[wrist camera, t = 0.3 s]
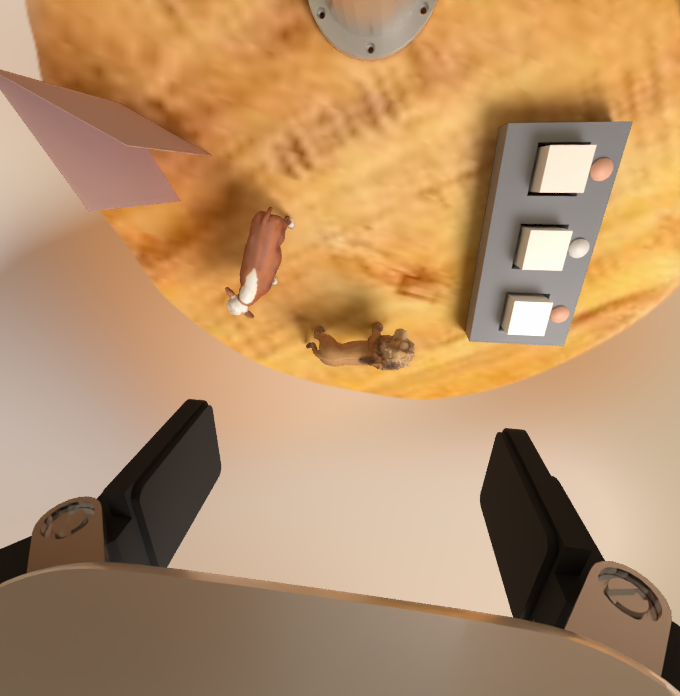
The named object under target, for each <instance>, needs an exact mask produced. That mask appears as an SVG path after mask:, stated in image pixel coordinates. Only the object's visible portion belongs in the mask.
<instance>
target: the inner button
mask: <svg viewBox="0 0 680 696" xmlns="http://www.w3.org/2000/svg"><path fill="white" fill-rule="evenodd" d="M596 146H597V145H549V146H543V147H538V148H537V151H536V156H535V161H534V166H533V170H532V175H531V180H530V184H529V189H528V191H529V192H539V193H584V189H585V186H586V182H587V179H588V175H589V171H590V168H591V164H592V160H593V157H594V153H595V150H596Z"/></svg>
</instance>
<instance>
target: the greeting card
mask: <svg viewBox="0 0 680 696" xmlns="http://www.w3.org/2000/svg"><path fill="white" fill-rule="evenodd" d="M0 90H1V91H2V92H3V94H4V95H5V97H6V98H7V99H8V101H9V102H10V104H11V105H12V106H13V108H14V109H15V110H16V112H17V113H18V115H19V116H20V117H21V119H22V120H23V121H24V123H25V124H26V125H27V127H28V128H29V130H30V131H31V132H32V134H33V135H34V136H35V138H36V139H37V141H38V142H39V143H40V145H41V146H42V147H43V149H44V150H45V152H46V153H47V154H48V156H49V157H50V159H51V160H52V161H53V163H54V164H55V165H56V167H57V168H58V169H59V171H60V172H61V174H62V175H63V176H64V178H65V179H66V180H67V182H68V183H69V185H70V186H71V187H72V189H73V190H74V191H75V193H76V194H77V196H78V197H79V198H80V200H81V201H82V202H83V204H84V205H85V206H86V208H87V209H88V211H97V210H106V209H114V208H123V207H132V206H141V205H150V204H159V203H167V202H176V201H181V200H180V199H179V197H178V196H177V194H176V192H175V191H174V189H173V188H172V186H171V185H170V183H169V181H168V180H167V178H166V177H165V175H164V173H163V172H162V170H161V169H160V167H159V165H158V164H157V162H156V161H155V159H154V158H153V156H152V154H151V153H150V151H149V150H148V149H156V150H164V151H173V152H181V153H189V154H197V155H205V156H211V155H210V154H208V153H206V152H204V151H203V150H201V149H199V148H197V147H196V146H194V145H192V144H190V143H189V142H187V141H185V140H183V139H181V138H180V137H178V136H176V135H174V134H173V133H171V132H169V131H167V130H166V129H164V128H162V127H160V126H159V125H157V124H155V123H153V122H152V121H150V120H148V119H146V118H145V117H143V116H141V115H139V114H138V113H136V112H134V111H132V110H131V109H129V108H127V107H125V106H124V105H122V104H120V103H118V102H114V101H111V100H107V99H103V98H100V97H96V96H93V95H89V94H86V93H82V92H78V91H75V90H71V89H68V88H64V87H60V86H57V85H53V84H50V83H46V82H43V81H39V80H35V79H32V78H28V77H25V76H21V75H17V74H14V73H10V72H7V71H3V70H0Z"/></svg>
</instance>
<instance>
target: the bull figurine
mask: <svg viewBox="0 0 680 696" xmlns="http://www.w3.org/2000/svg"><path fill="white" fill-rule="evenodd" d="M271 211H272V208H271V207H270V208H269V209H268V210H267V211H266V212H265V211H260V212H258V213H257V214H256V215H255V217H254V218H253V220H252V223H251V227H250V234H249V237H248V240H247V243H246V245H245V250H244V256H243V262H242V267H241V270H240V283H241V288H240V290H239V294H238V295H235V294H234V292H233V291H232V290H231V289H230V288H228V287H226V288H225V290H226V293H227V295H229V296H230V298H231V299H230V300H228V302H227V309H228V311H229V312H230V313H231V314H234V315H240V314H241V313H242V312H243V313H244V315H245V316H247V317H249V318H254V315H253V314H252V313H251V312H250V311H249V310H248V307H249V306H250V305H252V304H254V303H255V302H256V301H257V300H258V299H259V298H260V297H261V296H263V295H264V294H266V293H267V292H268V291H269V290H270V288H271V286H272V285H274V286H276V285H277V284H278V280H277V278H276V277H275V275H276V272H277V270H278V268H279V266H280V263H281V259H282V254H281V248H280V245H281V244H282V243H283V241H284V239H285V230H286V229H287V227H288V228H290V229H293V228H294V226H295V224H294V222H293V219H292V218H289V216H286V217H285V219H284V220H283V218H282V217H280V216H278V215H272V214H271Z"/></svg>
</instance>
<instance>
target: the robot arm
mask: <svg viewBox="0 0 680 696" xmlns="http://www.w3.org/2000/svg"><path fill="white" fill-rule="evenodd" d="M308 2H309V6H310V10H311V12H312V15H313V17H314V19H315V21H316V24H317V25H318V27H319V29H320V31H321V33H322V34H323V35H324V37H325V38H326V39H327V41H328V42H329V43H330V44H331V45H332V46H333V47H335V48H336V49H337V50H338V51H339V52H341V53H343V54H344V55H346V56H348V57H350V58H353V59H357V60H361V61H377V60H381V59H386V58H388V57H390V56H393V55H395V54H397V53H399V52H400V51H401V50H403V49H404V48H406V47H407V46H408V45H409V44H410V43H411V42H412V41H413V40H414V39H415V38H416V37H417V36H418V35H419V34H420V32H421V31H422V29H423V28H424V27H425V25H426V24H427V22H428V20H429V18H430V16H431V14H432V12H433V10H434V8H435V6H436V3H437V0H308ZM422 9H425V10H426V13H425V14H421V10H422ZM321 14H325V17H324V18H323V19H321V18H320V16H321ZM370 48H373V50H374V51H373V53H369V52H368V51H369V49H370ZM220 472H221V461H220V454H219V448H218V442H217V435H216V428H215V422H214V415H213V409H212V407H211V406H210V405H208V403H207V402H206V401H204V400H193V399H188V400H187V401H185V403H184V404H183V405H182V406H181V407H180V408H179V409H178V410H177V411H176V412H175V413H174V415H173V416H172V417H171V418H170V419H169V420H168V421H167V422H166V423H165V424H164V425H163V426H162V427H161V429H160V430H159V431H158V432H157V433H156V434H155V435H154V436H153V437H152V438H151V439H150V441H149V442H148V443H147V444H146V445H145V446H144V447H143V448H142V449H141V450H140V451H139V452H138V454H137V455H136V456H135V457H134V458H133V459H132V460H131V461H130V462H129V463H128V464H127V465H126V466H125V468H124V469H123V470H122V471H121V472H120V473H119V474H118V475H117V476H116V477H115V478H114V479H113V481H112V482H111V483H110V484H109V485H108V486H107V487H106V488H105V489H104V491H103V493H102V494H101V495H100V496H99V497H98V498H97V499H95V498H92V497H78V498H74V499H70V500H68V501H65V502H63V503H61V504H58V505H57V506H55V507H54V508H52V509H51V510H49V511H48V512H47V513H46V514H44V515H43V516H42V517H41V518H40V519H39V521H38V522H37V523H36V525H35V527H34V529H33V532H32V536H30V537H28V538H25V539H23V540H21V541H18V542H16V543H14V544H11V545H9V546H7V547H4V548H2V549H0V696H680V626H678V625H677V624H676V623H674V622H672V619H671V618H672V617H671V610H670V607H669V605H668V603H667V601H666V599H665V598H664V596H663V595H662V594H661V592H660V591H659V590H658V589H657V588H656V587H655V586H654V585H653V584H652V583H651V582H650V581H649V580H648V579H647V578H645V577H644V576H642V575H641V574H639V573H638V572H637V571H635V570H633V569H631V568H629V567H627V566H625V565H623V564H619V563H616V562H613V561H605V560H604V558H603V557H602V555H601V553H600V551H599V550H598V548H597V546H596V544H595V543H594V541H593V539H592V537H591V536H590V534H589V532H588V531H587V529H586V527H585V525H584V524H583V522H582V520H581V519H580V517H579V515H578V513H577V512H576V510H575V508H574V506H573V505H572V503H571V501H570V499H569V498H568V496H567V495H566V492H565V491H564V489H563V487H562V486H561V484H560V482H559V481H558V480H557V478H555V477H554V476H551V475H550V473H549V471H548V469H547V468H546V466H545V464H544V463H543V461H542V459H541V457H540V455H539V453H538V452H537V450H536V448H535V446H534V445H533V443H532V441H531V439H530V437H529V436H528V434H527V432H526V431H525V430H520V429H508V428H505V429H504V430H503V431H502V432H498V433H497V435H496V437H495V441H494V445H493V449H492V453H491V456H490V460H489V464H488V468H487V471H486V475H485V479H484V483H483V487H482V490H481V494H480V504H481V509H482V512H483V516H484V519H485V522H486V526H487V529H488V533H489V536H490V540H491V543H492V546H493V550H494V553H495V557H496V560H497V564H498V567H499V571H500V574H501V577H502V581H503V584H504V588H505V591H506V595H507V598H508V602H509V605H510V609H511V612H512V615H513V618H512V617H506V616H500V615H493V614H488V613H482V612H475V611H469V610H463V609H457V608H451V607H444V606H436V605H430V604H423V603H416V602H410V601H403V600H396V599H389V598H383V597H376V596H369V595H362V594H355V593H348V592H341V591H334V590H327V589H320V588H313V587H306V586H298V585H291V584H284V583H277V582H270V581H263V580H256V579H248V578H241V577H233V576H226V575H219V574H211V573H204V572H197V571H189V570H182V569H173V568H167V566H168V565H169V563H170V561H171V559H172V558H173V556H174V554H175V552H176V550H177V549H178V547H179V545H180V544H181V542H182V540H183V538H184V537H185V535H186V533H187V532H188V530H189V528H190V526H191V524H192V523H193V521H194V519H195V518H196V516H197V514H198V512H199V510H200V509H201V507H202V505H203V504H204V502H205V500H206V498H207V496H208V495H209V493H210V491H211V490H212V488H213V486H214V484H215V483H216V481H217V479H218V477H219V475H220Z"/></svg>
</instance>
